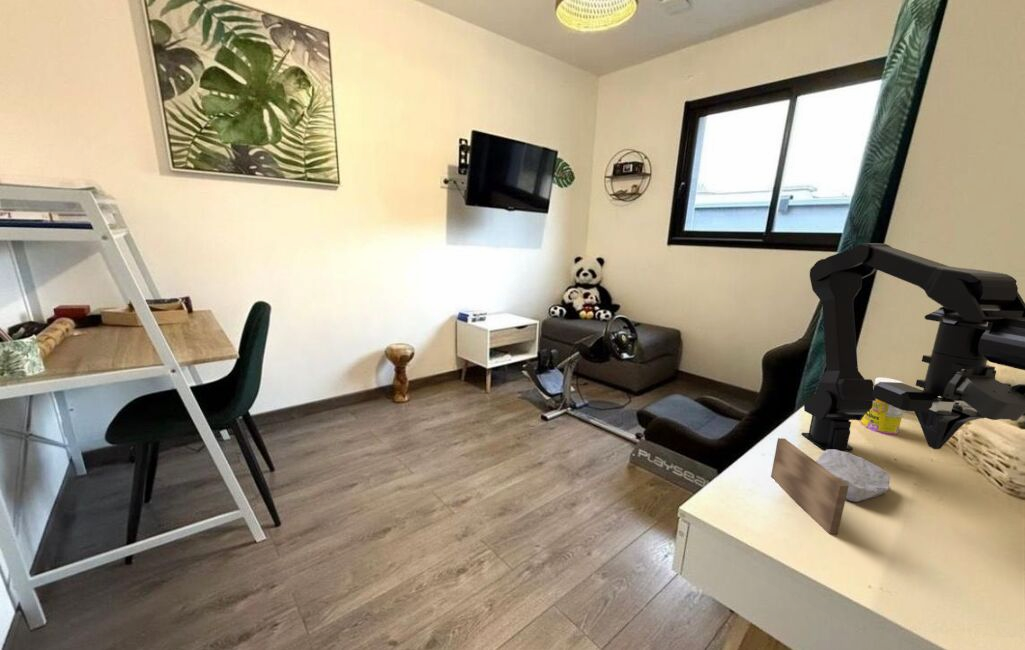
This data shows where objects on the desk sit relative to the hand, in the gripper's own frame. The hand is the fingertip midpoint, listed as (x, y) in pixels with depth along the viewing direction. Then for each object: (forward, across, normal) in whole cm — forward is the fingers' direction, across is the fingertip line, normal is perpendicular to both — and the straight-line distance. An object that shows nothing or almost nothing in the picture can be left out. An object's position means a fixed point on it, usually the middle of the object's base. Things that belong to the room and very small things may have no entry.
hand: (934, 447), depth 63 cm
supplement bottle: (+11, +17, +27) cm, 34 cm away
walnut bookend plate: (+10, -20, -1) cm, 23 cm away
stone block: (+10, -5, +1) cm, 11 cm away
